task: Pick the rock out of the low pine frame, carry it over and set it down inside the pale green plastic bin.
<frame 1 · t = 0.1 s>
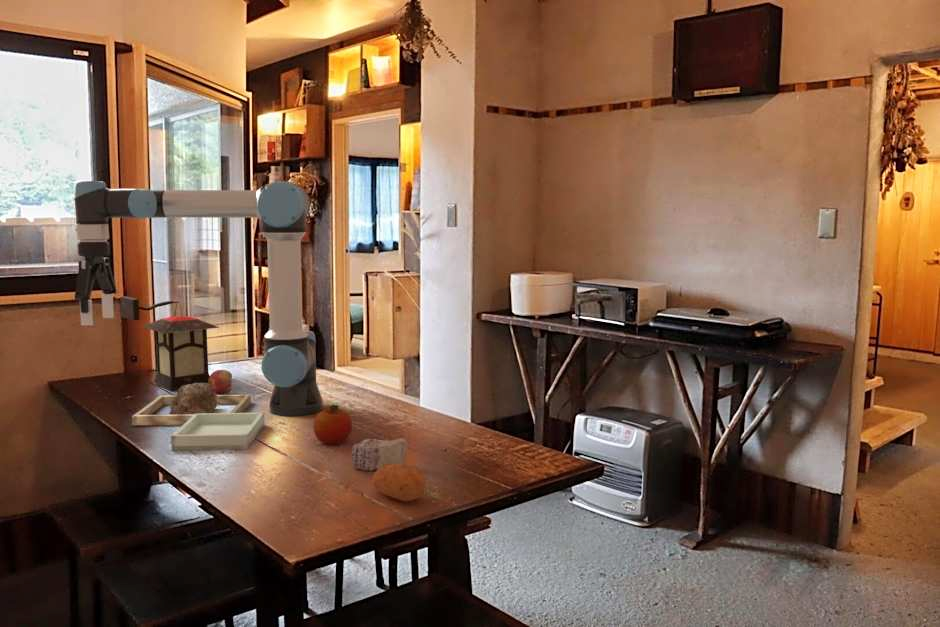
hand: (98, 321, 207), 28 cm above the table, fingers open, 13 cm apart
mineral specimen: (377, 467, 178), on the table
pine frame: (194, 413, 223), on the table
lantern: (171, 387, 256), on the table
potato: (398, 499, 158), on the table
rock: (194, 414, 223), on the table
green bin: (220, 437, 200), on the table
fruit 2: (221, 395, 245), on the table
fruit: (333, 443, 196), on the table
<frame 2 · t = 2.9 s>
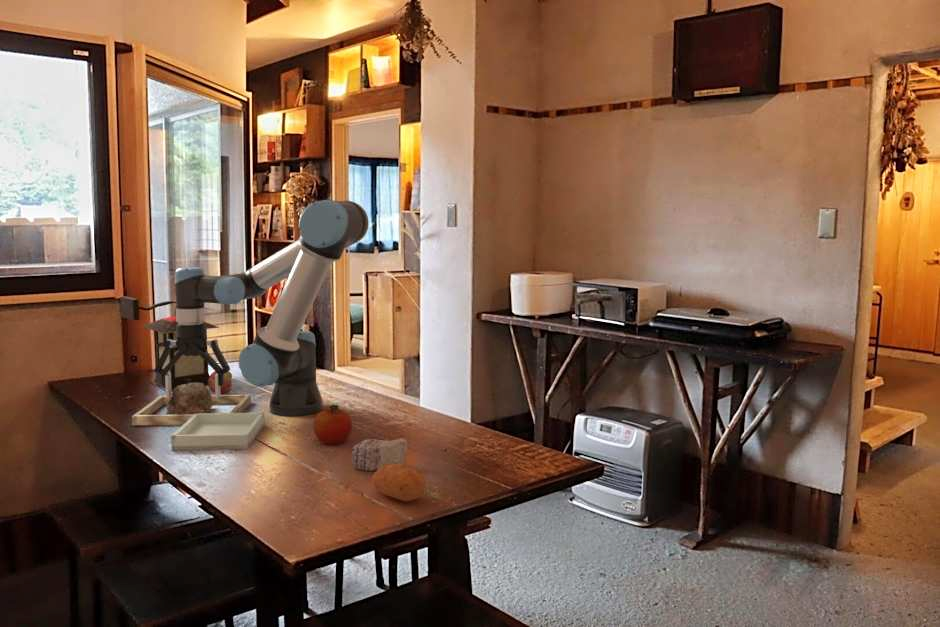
hand: (193, 397, 222), 5 cm above the table, fingers open, 13 cm apart
rock: (191, 414, 223), on the table, touching gripper
everything else where it was.
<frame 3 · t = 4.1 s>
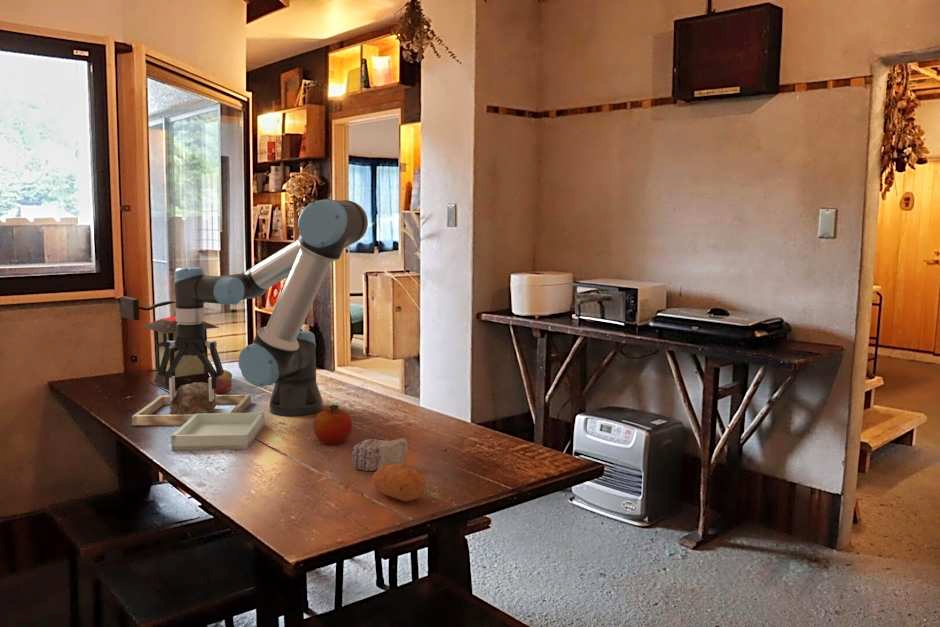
hand: (192, 399, 223), 4 cm above the table, fingers closed on rock, 10 cm apart
rock: (194, 414, 223), on the table, touching gripper
everything else where it was.
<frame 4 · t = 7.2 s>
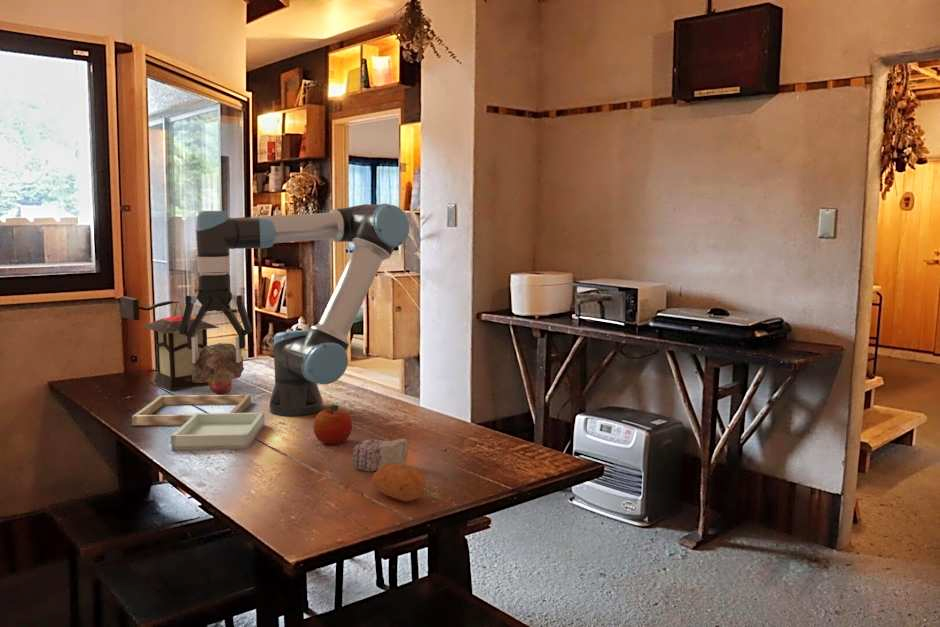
hand: (217, 361, 197), 19 cm above the table, fingers closed on rock, 10 cm apart
rock: (220, 378, 198), point 15 cm above the table, touching gripper
everything else where it was.
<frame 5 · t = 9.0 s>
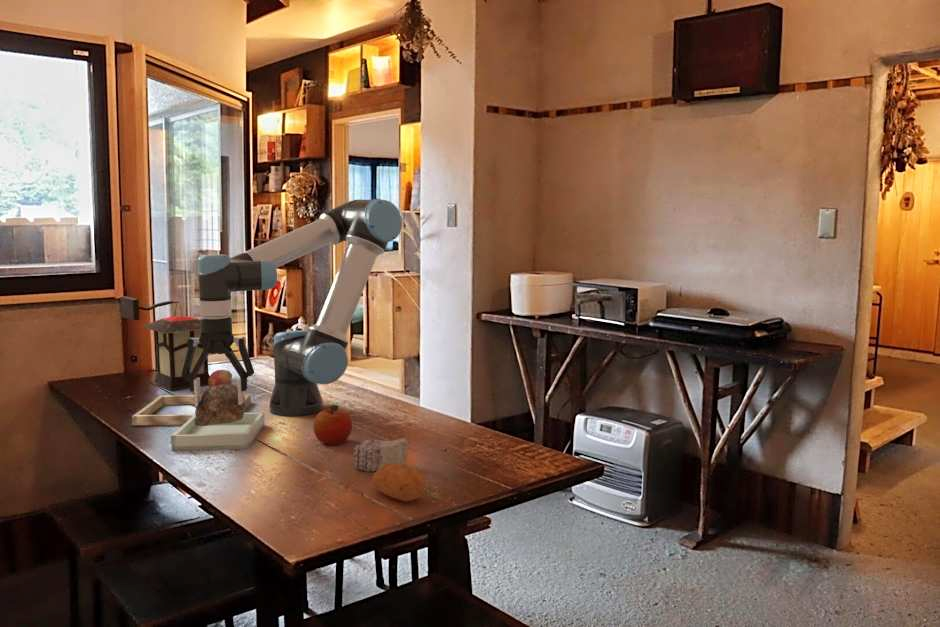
hand: (219, 403, 199), 9 cm above the table, fingers closed on rock, 10 cm apart
rock: (222, 420, 199), point 4 cm above the table, touching gripper
everything else where it was.
when the fingers open (9 cm above the table, at t = 9.7 s): rock drops 4 cm, resting on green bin.
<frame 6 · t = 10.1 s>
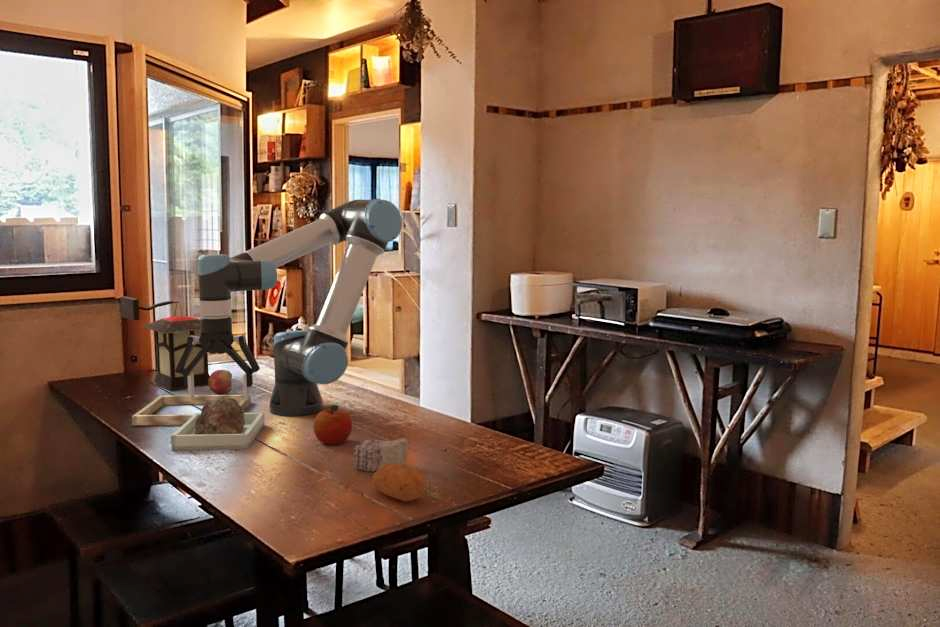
hand: (219, 399, 199), 10 cm above the table, fingers open, 13 cm apart
rock: (221, 434, 200), point 1 cm above the table, touching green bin
everything else where it was.
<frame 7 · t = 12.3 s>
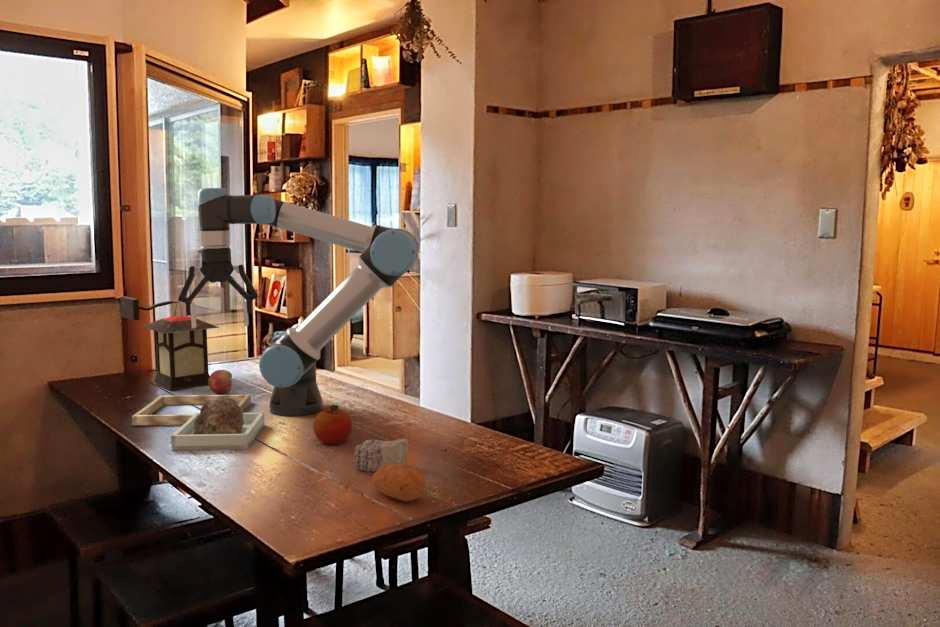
hand: (220, 326, 210), 26 cm above the table, fingers open, 13 cm apart
nothing on the table moved.
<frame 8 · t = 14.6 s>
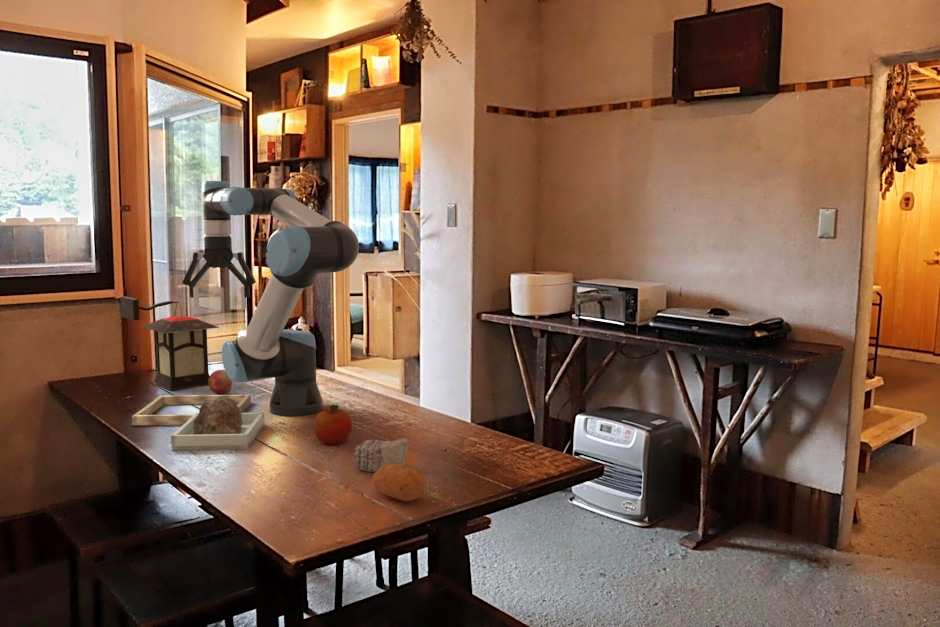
hand: (220, 308, 228), 29 cm above the table, fingers open, 13 cm apart
nothing on the table moved.
at the end: rock inside the target area on the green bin (0.1 cm from its centre), point 0.8 cm above the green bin's base; the gripper is holding nothing; rock touching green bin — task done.
